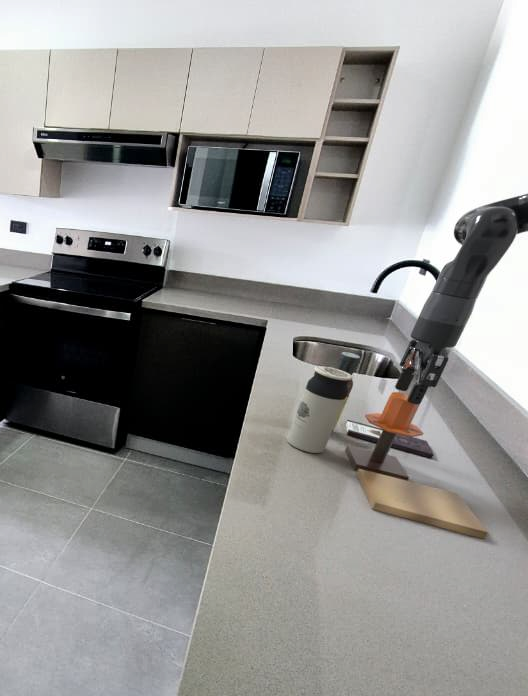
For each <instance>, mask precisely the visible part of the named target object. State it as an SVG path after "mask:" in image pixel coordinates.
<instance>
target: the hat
mask: <svg viewBox="0 0 528 696" xmlns="http://www.w3.org/2000/svg"><path fill="white" fill-rule="evenodd" d="M408 396H409V394H407V393H405V392H404V393H403V392H398V391H396V392H395V391H393V392H391V393H390V394H389V397H388V399H387V401H386V403H385V406H384V408H383V410H382V412H381V413H379V412H373V413H366V414H364V417H365V418H366V420H367V422H368V423H369V424H371V425H372V426H374V427H377V428H381V429H383V430H386V431H388V432H391V433H395V434H400V435H404V436H408V437H414V438H416V437H421V436H423V435H424V432H423V431H422V429H420V427H419V426H418V425H416V424H413V423H412V422H413V420H414V418H415V416H416V414H417V411H418V409H419V407H420V405H421V403H420V404H418V405H417V404H413V403H409V402H408V401H407V399H408Z"/></svg>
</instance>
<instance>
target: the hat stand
mask: <svg viewBox="0 0 528 696" xmlns="http://www.w3.org/2000/svg"><path fill="white" fill-rule="evenodd" d="M396 435H397V434H395V433H391V432H388V431H386V430H383V431H382V433H381V435H380V437H379V439H378V442H377V443H375V447H374V449H373V450H369V449H365V448H361V447H357V446H352V445H349V444H347V445H346V447H345V449H344V451H345V454H346V457H347V458H348V460H349V462H351V463H350V465H351V467H352V468H353V471H356V470H357V471H358V469H363V470H367V471H371V472H375V473H379V474H382V475H386V476H390V477H394V478H398V479H402V480H406V481H409V479H410V476H409V474H408V473H407V472H406V470H405V468H404V467H403V466H402V464H401V463H400V461H399V460H398V458H397V456H394V455H390V454H389V452H390V450H391V448H392V447H391V446H392V443H393V441H394V439H395V437H396ZM357 471H356V472H357Z"/></svg>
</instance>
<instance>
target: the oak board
mask: <svg viewBox="0 0 528 696" xmlns="http://www.w3.org/2000/svg"><path fill="white" fill-rule="evenodd" d="M355 475H356V478H357V479H359V480H358V482H359V484H360V486H361V488H362V490H363V492H364V494H366V495H365V496H366V500H367V501H368V504H369V506H370V507H371V509H372V510H374V511H378V512H382V513H384V514H389V515H393V516H396V517H401V518H404V519H408V520H411V521H416V522H419V523H423V524H427V525H430V526H434V527H436V528H437V527H438V528H441V529H445V530H449V531H453V532H456V533H459V534H464V535H468V536H471V537H473V538H474V537H475V538H479V539H483V540H486V538H487V536H488V534H489V531H488V530H487V528H486V527H485V525H483V524H482V522H481V521H480V520H479V518H477V516H476V515H475V514H474V512H473V511H472V510H471V508H470V507H469V506H468V504H466V502H465V501H464V500H463V498H462V497H461V496H460V495H459V494H458V493H457V492H454V491H450V490H446V489H443V488H438V487H434V486H430V485H426V484H421V483H418V482H414V481H410V480H408V481H406V480H402V479H398V478H394V477H390V476H386V475H382V474H379V473H375V472H371V471H367V470H363V469H358V471H356V474H355Z"/></svg>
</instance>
